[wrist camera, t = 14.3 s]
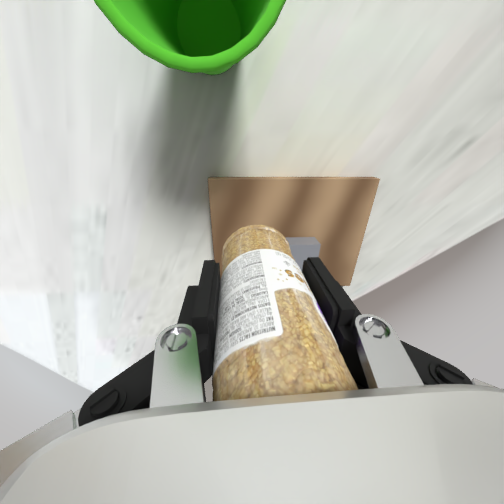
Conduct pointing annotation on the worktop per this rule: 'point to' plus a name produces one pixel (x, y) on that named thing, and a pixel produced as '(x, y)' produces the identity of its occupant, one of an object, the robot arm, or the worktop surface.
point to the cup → (193, 29)
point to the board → (297, 213)
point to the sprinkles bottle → (271, 324)
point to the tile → (303, 248)
